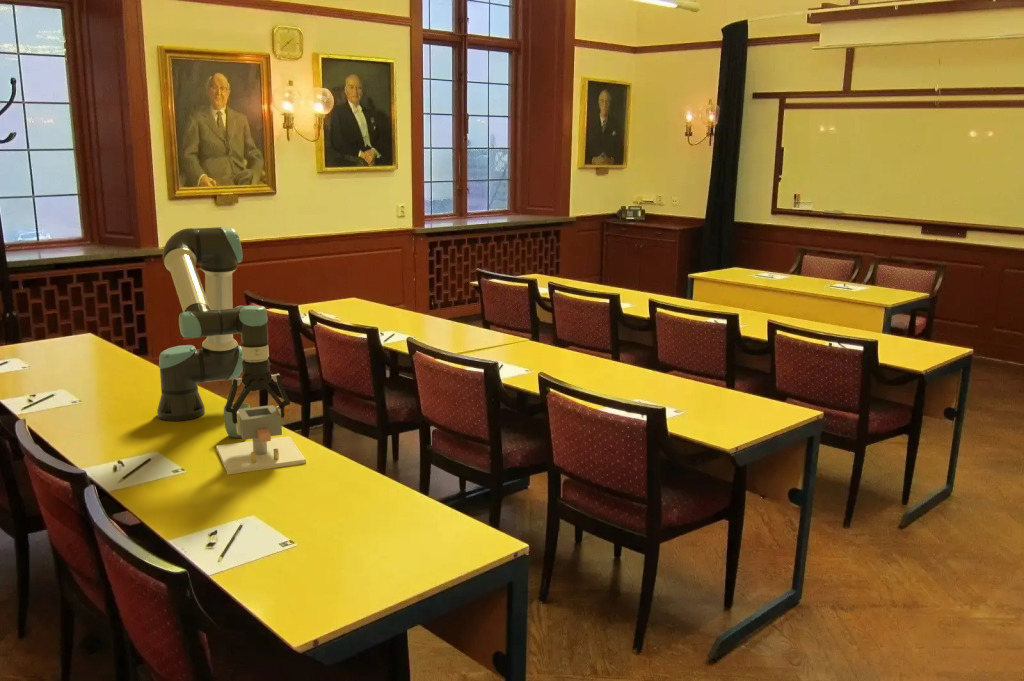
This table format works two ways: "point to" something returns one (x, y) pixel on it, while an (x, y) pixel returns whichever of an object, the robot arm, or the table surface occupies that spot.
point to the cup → (229, 423)
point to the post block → (259, 455)
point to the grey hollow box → (260, 423)
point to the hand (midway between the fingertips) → (259, 430)
